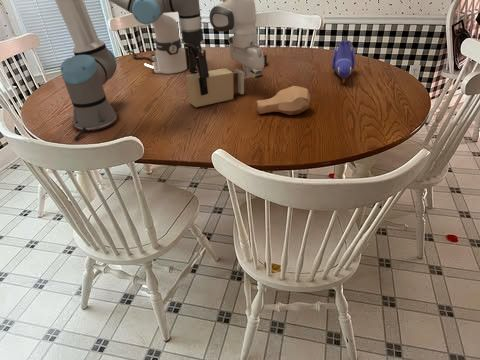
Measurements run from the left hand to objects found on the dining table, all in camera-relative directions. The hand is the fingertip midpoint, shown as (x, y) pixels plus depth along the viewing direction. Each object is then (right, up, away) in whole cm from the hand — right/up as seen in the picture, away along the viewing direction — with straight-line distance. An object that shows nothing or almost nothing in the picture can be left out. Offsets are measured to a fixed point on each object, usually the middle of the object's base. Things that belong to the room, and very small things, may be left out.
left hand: (200, 91), depth 139 cm
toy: (+61, +11, +18) cm, 64 cm away
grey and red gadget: (+22, +20, +34) cm, 45 cm away
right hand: (+19, +8, +7) cm, 22 cm away
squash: (+32, -9, -6) cm, 34 cm away
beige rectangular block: (+4, -2, +5) cm, 7 cm away
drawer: (+11, +1, +8) cm, 14 cm away
